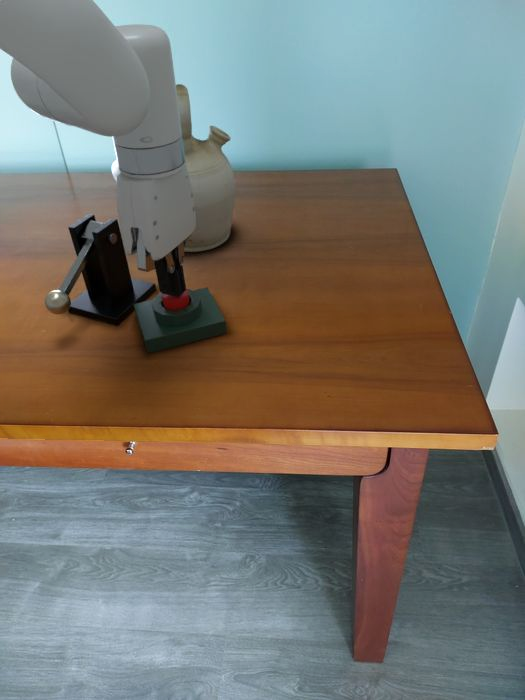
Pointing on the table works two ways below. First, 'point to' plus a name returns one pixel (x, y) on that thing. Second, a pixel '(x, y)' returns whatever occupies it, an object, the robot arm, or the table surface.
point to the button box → (179, 321)
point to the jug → (207, 181)
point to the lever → (72, 274)
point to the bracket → (107, 275)
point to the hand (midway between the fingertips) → (173, 291)
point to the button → (176, 301)
